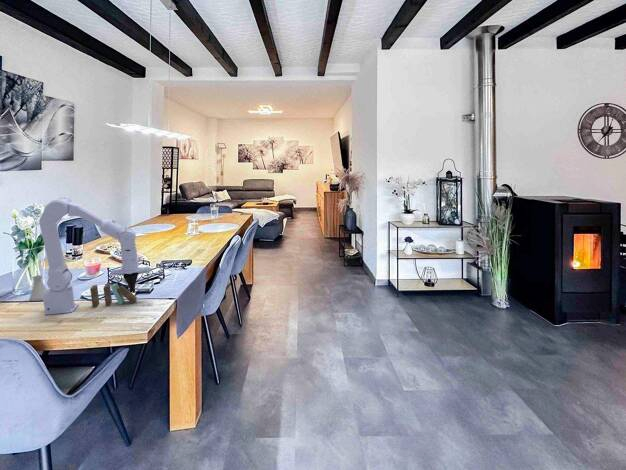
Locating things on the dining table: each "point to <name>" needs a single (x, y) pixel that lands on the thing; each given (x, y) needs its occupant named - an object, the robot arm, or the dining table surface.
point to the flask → (37, 289)
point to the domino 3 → (117, 294)
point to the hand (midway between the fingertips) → (132, 290)
